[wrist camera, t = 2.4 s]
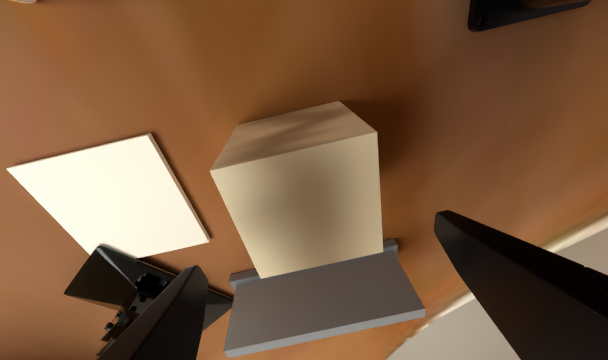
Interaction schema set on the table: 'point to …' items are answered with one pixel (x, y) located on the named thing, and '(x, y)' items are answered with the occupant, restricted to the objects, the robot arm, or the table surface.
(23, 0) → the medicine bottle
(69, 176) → the reading pad
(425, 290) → the table surface
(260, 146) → the letter block
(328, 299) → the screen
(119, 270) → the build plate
